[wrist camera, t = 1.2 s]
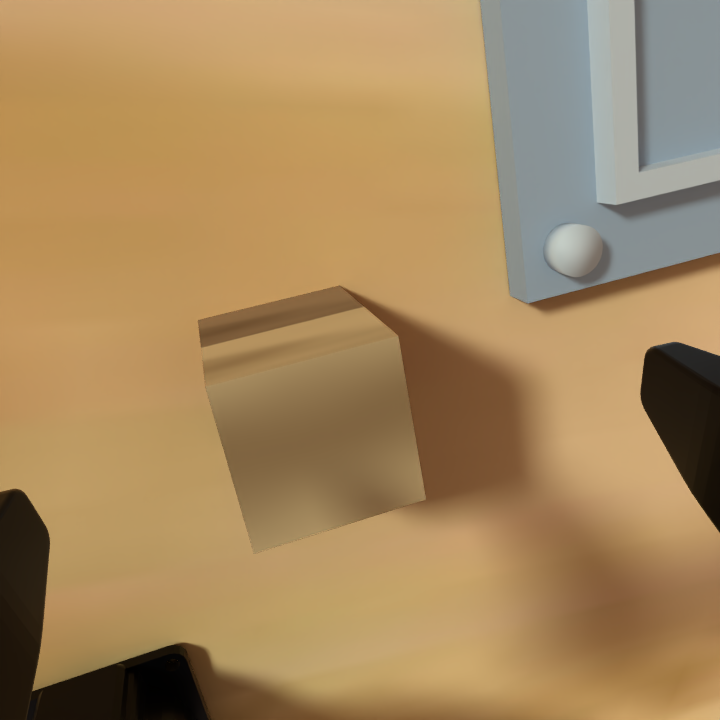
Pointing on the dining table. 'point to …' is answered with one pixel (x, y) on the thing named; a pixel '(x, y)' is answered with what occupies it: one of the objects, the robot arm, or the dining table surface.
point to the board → (603, 137)
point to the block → (310, 414)
